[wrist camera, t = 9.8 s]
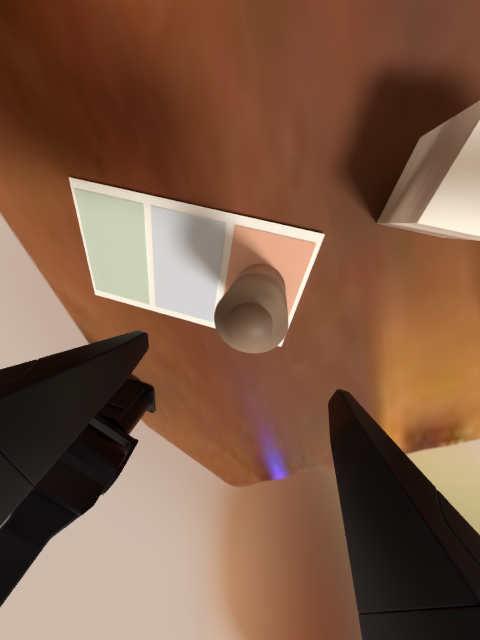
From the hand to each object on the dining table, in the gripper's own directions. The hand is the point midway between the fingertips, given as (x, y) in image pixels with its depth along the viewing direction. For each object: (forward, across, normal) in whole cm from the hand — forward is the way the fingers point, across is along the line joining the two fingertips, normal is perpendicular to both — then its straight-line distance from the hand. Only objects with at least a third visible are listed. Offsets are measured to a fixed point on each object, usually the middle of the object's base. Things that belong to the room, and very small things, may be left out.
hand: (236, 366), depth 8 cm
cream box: (+12, -10, -10) cm, 18 cm away
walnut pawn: (+11, 0, 0) cm, 11 cm away
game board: (+12, +8, 0) cm, 14 cm away
